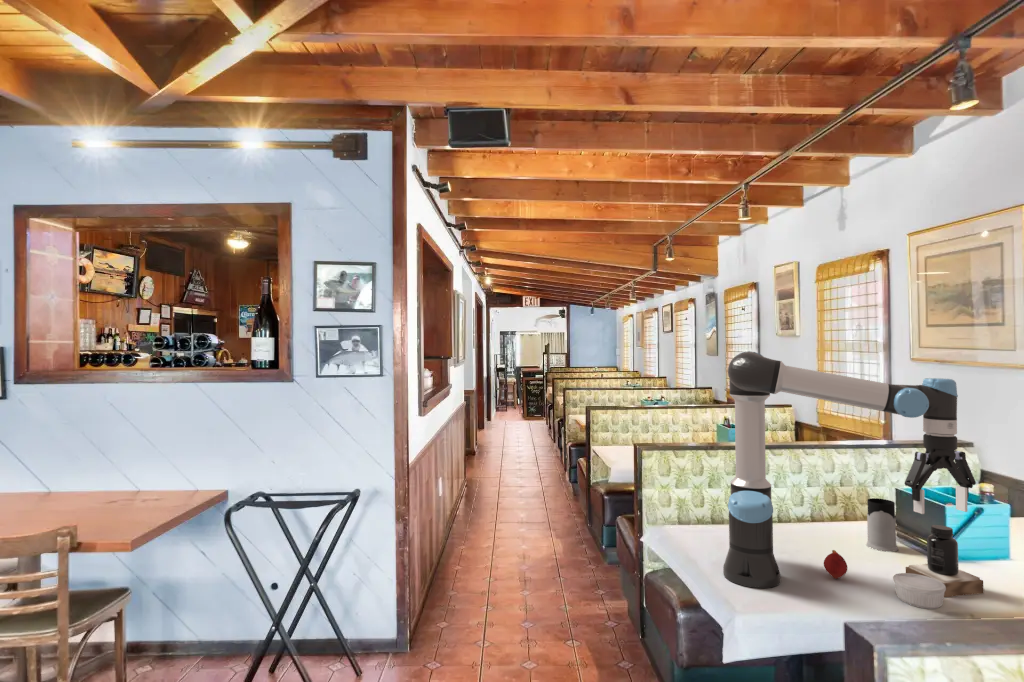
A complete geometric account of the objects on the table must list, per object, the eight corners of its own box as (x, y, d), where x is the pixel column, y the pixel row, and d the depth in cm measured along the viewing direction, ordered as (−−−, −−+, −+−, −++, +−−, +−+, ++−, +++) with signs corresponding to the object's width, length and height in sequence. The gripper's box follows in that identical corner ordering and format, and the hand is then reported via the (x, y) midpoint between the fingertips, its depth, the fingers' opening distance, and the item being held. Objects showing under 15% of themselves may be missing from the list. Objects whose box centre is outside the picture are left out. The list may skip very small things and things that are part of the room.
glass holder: (866, 548, 185) (865, 502, 185) (866, 536, 197) (865, 493, 197) (898, 553, 180) (897, 506, 181) (896, 540, 192) (895, 496, 193)
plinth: (944, 597, 149) (944, 581, 149) (905, 579, 160) (905, 564, 160) (983, 593, 150) (983, 578, 151) (942, 575, 162) (942, 561, 162)
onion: (845, 575, 163) (844, 548, 163) (849, 583, 158) (849, 554, 158) (822, 573, 165) (821, 545, 165) (826, 581, 160) (825, 552, 160)
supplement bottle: (965, 576, 152) (964, 531, 152) (939, 576, 152) (938, 531, 152) (946, 566, 159) (945, 523, 159) (921, 566, 159) (920, 523, 159)
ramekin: (923, 591, 152) (923, 571, 152) (958, 610, 141) (957, 589, 141) (883, 592, 152) (882, 572, 152) (914, 611, 141) (913, 590, 141)
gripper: (912, 437, 150) (912, 517, 150) (992, 435, 154) (992, 513, 154) (889, 433, 158) (889, 509, 158) (965, 431, 162) (966, 505, 162)
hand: (940, 511), depth 156 cm, fingers open, 13 cm apart
